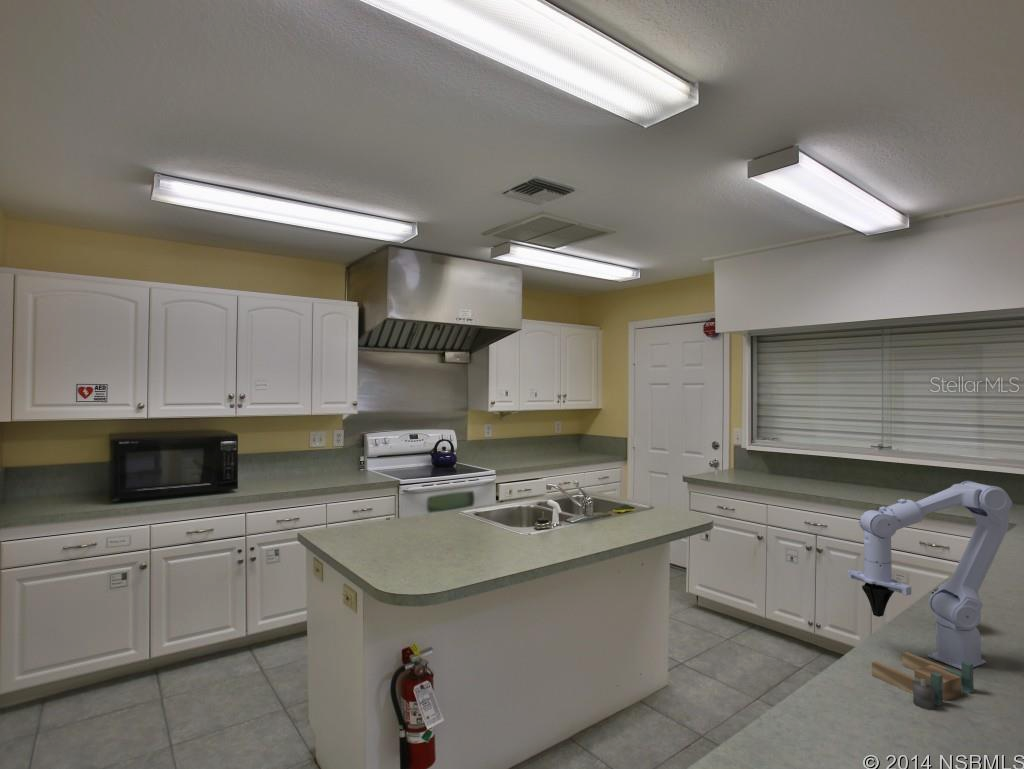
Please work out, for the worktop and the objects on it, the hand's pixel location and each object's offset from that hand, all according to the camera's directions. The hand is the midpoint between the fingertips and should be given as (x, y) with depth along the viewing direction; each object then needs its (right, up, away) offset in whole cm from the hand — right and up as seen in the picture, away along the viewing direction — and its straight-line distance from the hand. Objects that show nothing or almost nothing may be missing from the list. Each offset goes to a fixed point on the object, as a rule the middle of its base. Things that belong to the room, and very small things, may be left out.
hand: (878, 615), depth 140 cm
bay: (0, -10, -14) cm, 17 cm away
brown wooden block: (+3, -10, -16) cm, 19 cm away
